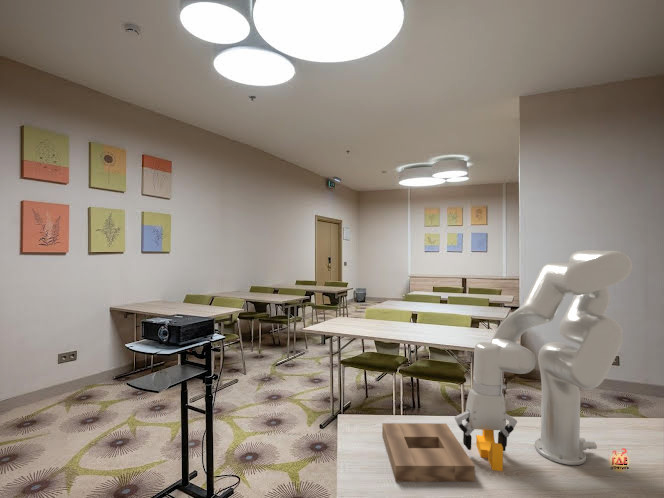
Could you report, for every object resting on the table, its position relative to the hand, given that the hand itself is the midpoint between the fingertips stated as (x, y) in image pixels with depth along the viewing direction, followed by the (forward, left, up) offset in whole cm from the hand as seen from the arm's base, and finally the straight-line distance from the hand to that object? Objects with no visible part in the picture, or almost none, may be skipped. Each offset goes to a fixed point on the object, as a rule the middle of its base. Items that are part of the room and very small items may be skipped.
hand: (484, 447), depth 103 cm
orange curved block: (-1, 0, -3) cm, 3 cm away
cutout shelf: (+17, 0, -3) cm, 17 cm away
